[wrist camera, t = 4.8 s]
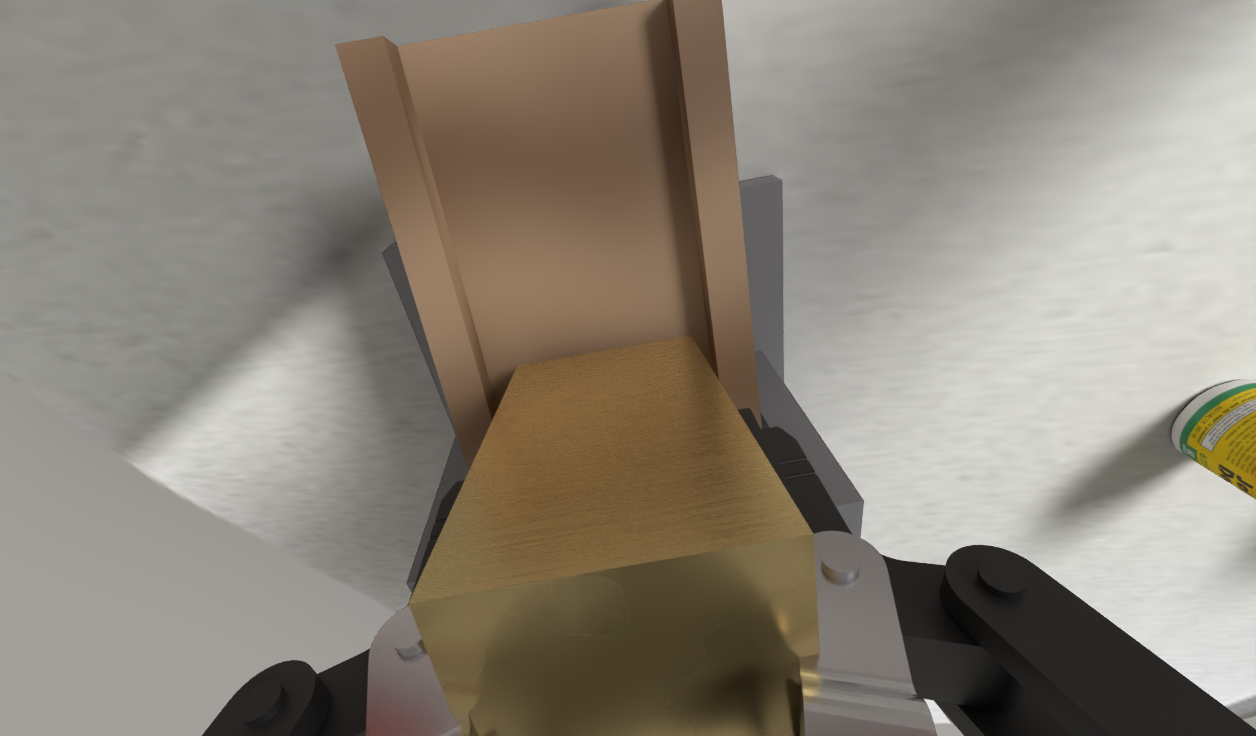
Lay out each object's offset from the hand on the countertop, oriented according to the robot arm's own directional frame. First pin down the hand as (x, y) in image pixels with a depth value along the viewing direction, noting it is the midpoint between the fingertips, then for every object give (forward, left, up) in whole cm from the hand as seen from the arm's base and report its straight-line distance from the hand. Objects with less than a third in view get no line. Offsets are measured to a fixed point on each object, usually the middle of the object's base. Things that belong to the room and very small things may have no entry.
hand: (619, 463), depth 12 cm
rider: (+1, 0, -2) cm, 2 cm away
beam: (+6, 0, -4) cm, 7 cm away
